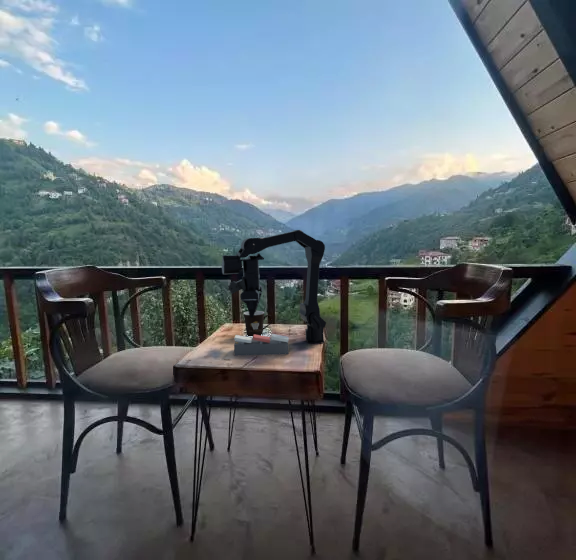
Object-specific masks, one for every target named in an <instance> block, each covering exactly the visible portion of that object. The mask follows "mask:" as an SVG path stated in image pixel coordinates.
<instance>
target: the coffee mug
mask: <svg viewBox="0 0 576 560" xmlns="http://www.w3.org/2000/svg"><path fill="white" fill-rule="evenodd" d="M267 317H270V318H271V321H270V323H268V324H267V325H265V326H264V321H265V319H266V318H267ZM243 319H244V325H245V332H246V336H247V335H248V336H254V334H255V335H261V334H262V333H264V332H263V331H264V330H265V329H266V328H268V327H269V326H271V324H272V323H273V322H274V317H273V315H272V314H266V315H265V311H262V310H256V312H255V314H254V317H253V318H250V315H249V312H248V311H244V312H243ZM262 335H263V334H262Z"/></svg>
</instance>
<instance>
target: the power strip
mask: <svg viewBox="0 0 576 560" xmlns="http://www.w3.org/2000/svg"><path fill="white" fill-rule="evenodd" d="M269 337H270V343H268V342H262V341H257V340H253V338H252V341H251V343H247V342H241V341H235V340H234V341H235V342H234V344H233V346H234V347H233V353H234V357H235V356H236V357H237V356H272V355H273V356H274V355H276V356H277V355H278V356H279V355H289V341H288V342H284V341H278V340H272V339H271V336H269Z"/></svg>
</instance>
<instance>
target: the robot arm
mask: <svg viewBox="0 0 576 560" xmlns="http://www.w3.org/2000/svg"><path fill="white" fill-rule="evenodd" d="M294 242H296V243H297V244H298V245H299V246H300V247H302V248H303V249H304V251H305V258H306V262H307V273H306V285H305V286H306V287H305V299H304V301H303V303H301V302H300V303H299V312H298V314H300V318H301V319H302V320H303V321H304V323H305V325H306V328H305V341H306V342H307V343H308V344H324V343H325V340H324V337H325V336H324V328H326V324H327V322H326V320H324V318H322V317H321V309H320V305H319V302H318V294H319V278H320V266H321V262H322V260H323V258H324V255H325V251H326V244H325V243H324V241H322V240H319V239H315V238H314V237H313V236H311V235H309V234H307V233H305V232H304V231H302V230H301V229H295V230H291V231H288V232H287V231H286V232H284V233H279V234H275V235H270V236H266V237H246V238H244V239H243V240H242V241H241V242H240V243H241V244H240V248H239V250H238V251H237V252H236V254H235V255H234V254H233V255H228V254H226V255H225V254H223V255H222V261H221V273H222V275H233V274H235V275H236V274H240V272H242V273H243V274H242V275H243V276H241V279H239V280H238V281H235V280H232V281H231V282H229V285H227V288H228V290H227V291H228V292H230V295H232V294H235V293H236V292H239V291H241V290H242V292H241V293H240V294H239V295H240V300H241V302H242V303H244V304H245V305H246V307H247V312H249V315H250V318H253V317H254V314H255V312H256V311H258V310H257V309H258V305H259V304H260V301H261V297H262V294H263V285H261V284H260V277H261V275H260V266H259V265H260V264H259V263H260V262H259V261H264V259H265V257H263V256H262V255H261V253H260V252H262V251H264V250H265V249H267V248H268V249H269V248H271V247H276V246H279V245H284V244H287V243H294Z"/></svg>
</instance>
